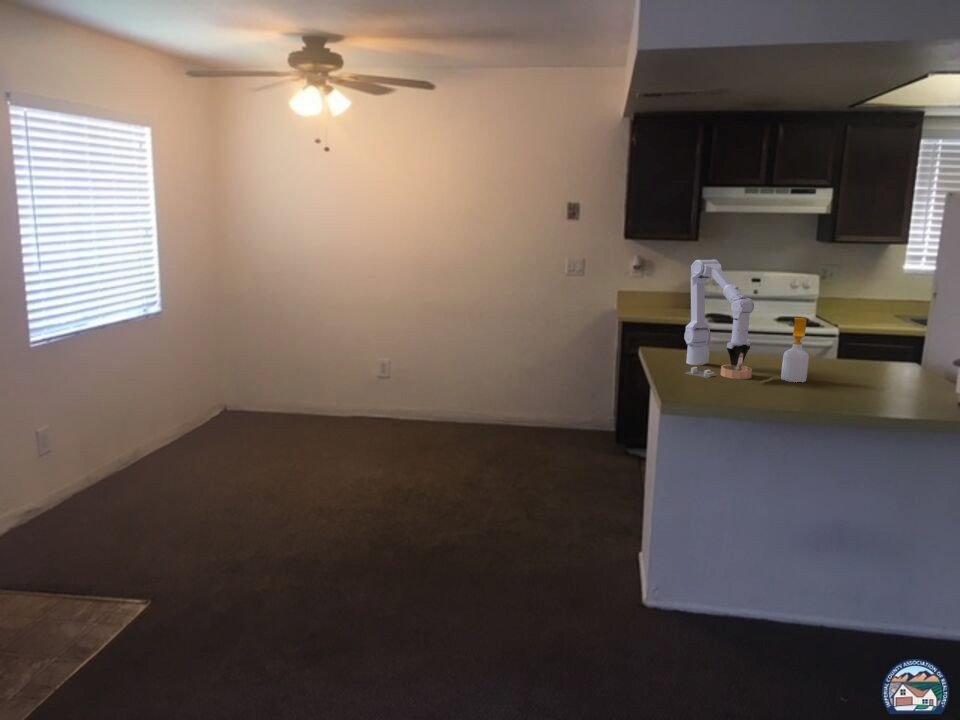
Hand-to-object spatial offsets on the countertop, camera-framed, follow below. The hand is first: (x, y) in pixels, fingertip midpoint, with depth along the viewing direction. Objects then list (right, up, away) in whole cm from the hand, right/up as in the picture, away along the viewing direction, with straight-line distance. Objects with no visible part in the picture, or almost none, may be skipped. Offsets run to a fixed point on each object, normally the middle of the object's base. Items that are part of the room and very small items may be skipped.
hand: (736, 364), depth 281 cm
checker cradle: (-13, -5, +2) cm, 14 cm away
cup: (0, -5, +1) cm, 5 cm away
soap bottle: (+22, -6, 0) cm, 23 cm away
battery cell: (0, -2, +1) cm, 2 cm away
